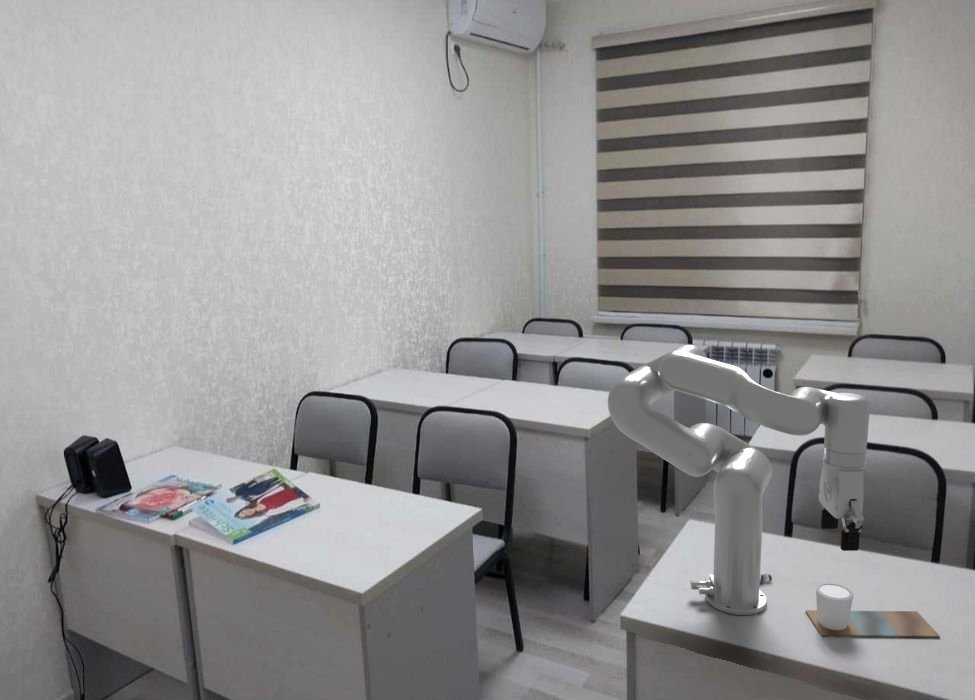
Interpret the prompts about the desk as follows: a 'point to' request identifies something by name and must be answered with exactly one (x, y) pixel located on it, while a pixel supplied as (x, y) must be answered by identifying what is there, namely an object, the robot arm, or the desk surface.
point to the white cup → (833, 605)
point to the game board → (879, 625)
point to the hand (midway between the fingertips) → (838, 538)
